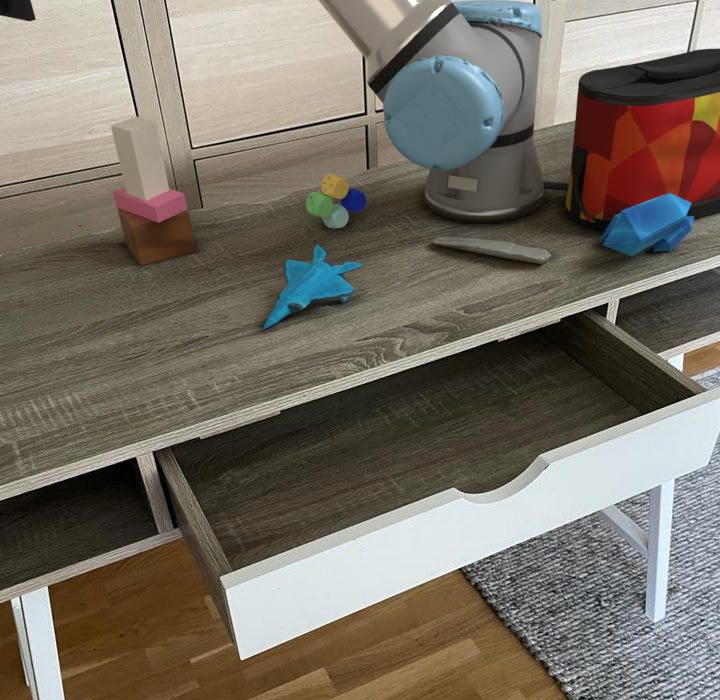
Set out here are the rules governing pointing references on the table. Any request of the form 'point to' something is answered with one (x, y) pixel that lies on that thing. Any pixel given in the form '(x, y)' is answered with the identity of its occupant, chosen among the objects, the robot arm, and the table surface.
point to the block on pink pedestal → (144, 172)
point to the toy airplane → (311, 284)
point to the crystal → (650, 225)
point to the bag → (647, 137)
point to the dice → (327, 209)
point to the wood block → (157, 236)
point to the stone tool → (496, 248)
